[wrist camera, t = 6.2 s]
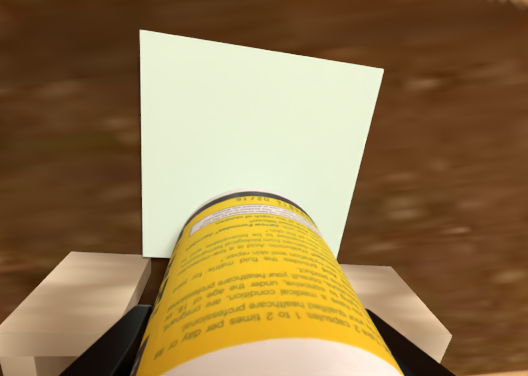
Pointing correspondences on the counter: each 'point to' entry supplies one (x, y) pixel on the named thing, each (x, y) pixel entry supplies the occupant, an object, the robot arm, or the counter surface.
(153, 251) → the pad
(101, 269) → the open frame
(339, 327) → the supplement bottle
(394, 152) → the counter surface
